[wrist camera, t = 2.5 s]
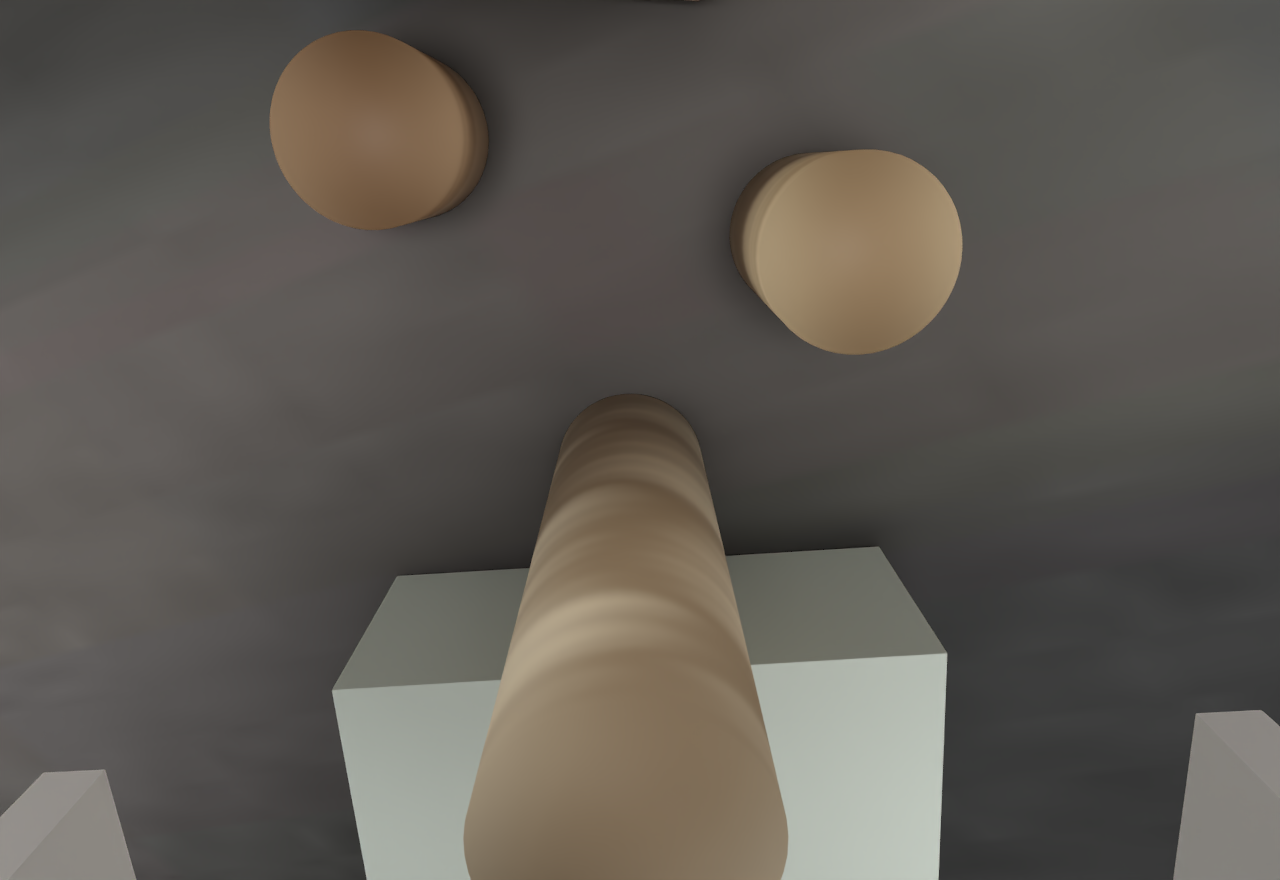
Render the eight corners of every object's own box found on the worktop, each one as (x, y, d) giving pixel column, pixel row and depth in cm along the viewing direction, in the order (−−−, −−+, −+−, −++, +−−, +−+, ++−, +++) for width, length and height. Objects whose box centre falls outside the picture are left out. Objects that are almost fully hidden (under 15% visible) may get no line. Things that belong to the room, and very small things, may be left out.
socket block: (455, 956, 31) (414, 1139, 25) (397, 575, 27) (332, 690, 21) (873, 932, 30) (929, 1112, 25) (878, 546, 26) (947, 653, 21)
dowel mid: (732, 314, 24) (763, 360, 19) (727, 158, 23) (757, 156, 18) (882, 304, 24) (958, 348, 19) (883, 148, 23) (966, 142, 17)
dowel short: (343, 224, 24) (287, 236, 20) (317, 58, 23) (253, 36, 19) (497, 214, 24) (470, 223, 20) (479, 47, 22) (447, 24, 19)
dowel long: (565, 533, 26) (482, 982, 12) (552, 398, 25) (444, 715, 11) (704, 525, 26) (790, 965, 12) (698, 389, 25) (785, 694, 11)
